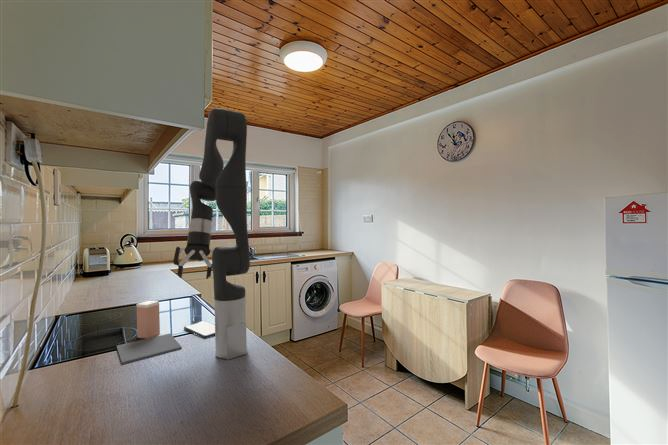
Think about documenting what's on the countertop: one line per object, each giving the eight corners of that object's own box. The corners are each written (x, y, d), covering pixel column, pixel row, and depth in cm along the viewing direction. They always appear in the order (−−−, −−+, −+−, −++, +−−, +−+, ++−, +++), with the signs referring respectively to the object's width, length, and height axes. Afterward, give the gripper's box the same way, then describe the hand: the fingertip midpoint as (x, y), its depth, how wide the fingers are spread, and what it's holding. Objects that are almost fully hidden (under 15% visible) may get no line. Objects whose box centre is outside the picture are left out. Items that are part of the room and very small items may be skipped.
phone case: (227, 333, 114) (204, 324, 124) (227, 328, 114) (204, 320, 124) (204, 341, 107) (182, 330, 117) (204, 336, 107) (182, 326, 117)
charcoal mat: (181, 348, 100) (181, 346, 100) (121, 364, 89) (121, 362, 89) (170, 335, 112) (170, 333, 112) (116, 347, 102) (116, 345, 102)
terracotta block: (159, 333, 113) (159, 301, 113) (147, 338, 109) (146, 305, 109) (150, 332, 115) (149, 300, 115) (137, 337, 110) (136, 304, 110)
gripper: (177, 228, 105) (170, 276, 101) (221, 232, 110) (216, 278, 106) (179, 233, 112) (172, 278, 108) (220, 236, 117) (215, 279, 113)
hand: (194, 278), depth 107 cm, fingers open, 8 cm apart
